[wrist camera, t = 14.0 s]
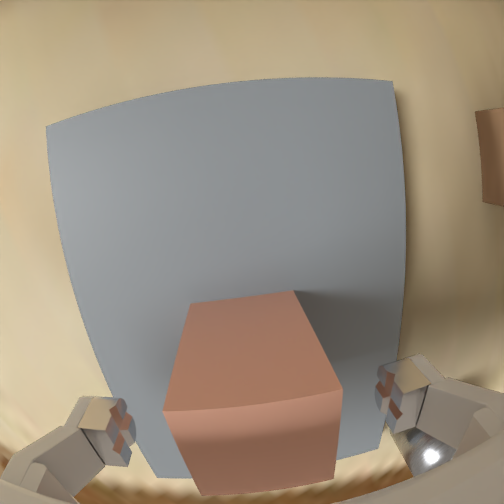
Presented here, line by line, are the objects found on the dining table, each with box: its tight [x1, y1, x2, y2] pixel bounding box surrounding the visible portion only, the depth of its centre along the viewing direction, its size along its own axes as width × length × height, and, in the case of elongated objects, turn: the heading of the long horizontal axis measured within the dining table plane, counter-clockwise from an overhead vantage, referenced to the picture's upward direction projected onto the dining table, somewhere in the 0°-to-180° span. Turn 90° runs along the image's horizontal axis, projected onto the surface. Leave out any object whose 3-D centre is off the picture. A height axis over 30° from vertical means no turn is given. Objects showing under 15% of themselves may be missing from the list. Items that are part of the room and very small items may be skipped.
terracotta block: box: [162, 290, 343, 496], centre depth 9 cm, size 4×4×6 cm
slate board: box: [46, 78, 406, 478], centre depth 13 cm, size 14×20×2 cm
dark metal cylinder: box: [390, 427, 457, 477], centre depth 14 cm, size 5×5×5 cm
